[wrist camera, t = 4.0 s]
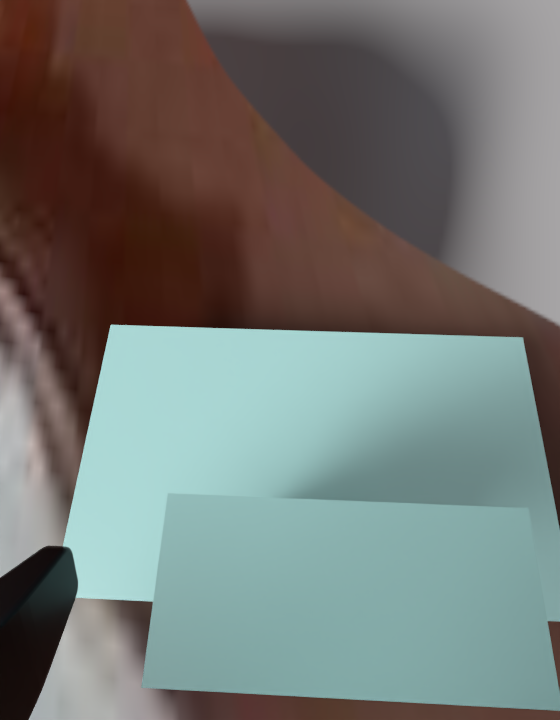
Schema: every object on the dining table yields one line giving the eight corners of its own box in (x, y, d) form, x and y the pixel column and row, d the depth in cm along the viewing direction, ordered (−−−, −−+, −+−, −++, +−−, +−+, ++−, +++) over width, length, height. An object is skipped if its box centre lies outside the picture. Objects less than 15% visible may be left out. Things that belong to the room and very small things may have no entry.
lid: (561, 618, 13) (1092, 739, 4) (64, 594, 14) (-329, 662, 5) (512, 347, 17) (758, 119, 8) (118, 334, 17) (-56, 107, 8)
